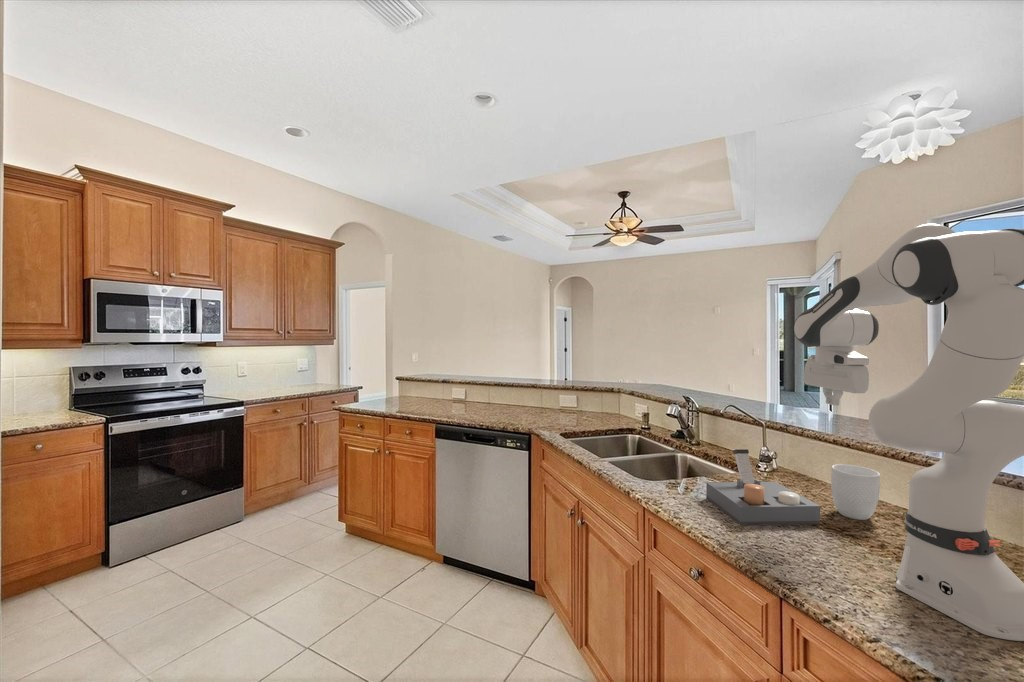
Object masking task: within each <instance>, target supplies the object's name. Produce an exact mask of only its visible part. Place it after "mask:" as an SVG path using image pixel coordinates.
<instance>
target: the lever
mask: <svg viewBox="0 0 1024 682" xmlns="http://www.w3.org/2000/svg"><path fill="white" fill-rule="evenodd" d="M749 454H750V451H749V449H746V448H745V449H744V448H742V449H734V450H733V455H734V457H735V461H736V465H737V471H738V475H739V479H741V480H742V481H744V482H743V486H744V485H745V484H753V483H755V481H754V479H755V477H754V473H753V468H752V463H751V459H750V456H749Z"/></svg>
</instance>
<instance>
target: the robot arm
mask: <svg viewBox="0 0 1024 682" xmlns="http://www.w3.org/2000/svg"><path fill="white" fill-rule="evenodd" d="M1023 285H1024V229H1023V228H1003V229H999V230H986V231H985V230H981V231H963V232H956V231H954V230H953V229H951V228H949V226H948V227H947V226H945V225H942V224H937V223H925V224H921V225H918V226H914V227H913V228H911V229H909V230H908V231H907V232H906V233H904V234H903V235H901V236H900V237H899V238H897V240H895V241H894V242H893V243H892V244H891V245H890V246H889V247H888V248H886V250H885V251H884V252H883V253H882V254H881V256H880V257H879V258H878V259H876V260H875V261H874V262H873V263H872V264H870V265H868V266H867V267H866V268H864V269H863V270H861V271H859V272H858V273H856V274H854V275H852V276H849V277H848V278H846V279H844V280H842V281H840V282H839V283H838V284H837V285H835V287H833V288H832V289H831V290H829V292H827V293H826V294H825V295H824V296H823V297H822V298H821V299H819V301H817V302H816V303H815V304H814V305H813V306H812V307H810V308H808V309H806V310H803V312H802V313H800V314H799V315H798V316H797V317H796V319H795V322H794V324H793V325H794V326H793V334H794V338H796V340H797V341H798V342H800V343H801V344H802V345H803V346H805V347H807V348H813V347H815V350H814V351H815V354H811V355H810V356H809V357H807V360H806V362H805V365H804V370H803V379H802V380H803V383H804V384H805V385H807V386H812V387H818V388H822V393H823V395H824V398H825V404H827V405H831V406H836V407H837V406H840V399H841V398H842V397H843V395H844V392H845V393H852V394H866V392H868V390H869V384H870V382H869V381H870V379H869V377H870V375H869V369H868V367H867V366H868V365H869V363H870V358H869V357H867V356H865V355H863V354H861V353H859V352H857V351H855V350H854V347H864V346H869V345H871V343H873V342H874V341H875V340H876V339H877V337H878V336H879V329H880V328H879V321H878V319H877V318H876V316H875V315H874V314H872V313H871V312H869V311H865V310H862V309H861V308H868V307H878V306H888V305H889V306H890V305H892V306H893V305H899V304H904V303H907V302H909V301H912V300H914V299H916V298H918V299H921V300H922V301H923V303H924V304H926V305H930V306H935V305H939V304H942V303H944V305H946V308H947V318H946V320H945V324H944V325H943V328H942V331H941V333H940V336H939V339H938V342H937V345H936V348H935V350H934V352H933V354H932V357H931V359H930V361H929V364H928V365H927V367H926V368H925V370H924V371H923V373H922V374H921V375H920V376H919V377H918V378H917V379H916V380H914V381H913V382H912V383H910V385H907V386H906V387H905V388H903V389H901V390H900V391H898V392H896V393H895V394H891V395H889V396H886V397H883V398H880V399H879V400H877V401H876V402H875V403H874V405H873V406H872V407H871V408H870V411H869V414H868V426H869V428H870V431H871V433H872V434H873V436H874V437H876V439H877V440H878V441H879V442H880V443H881V444H885V445H889V446H892V447H896V448H901V449H905V450H909V451H920V452H930V453H931V452H932V453H933V452H934V453H943V456H942V457H941V458H940V459H939V460H938V461H937V462H936V463H935V464H933V465H930V466H927V467H925V468H922V469H919V470H917V471H916V472H914V474H913V475H912V476H911V478H910V479H909V489H908V490H909V491H908V492H909V493H908V495H909V497H908V510H907V511H906V512H905V518H904V524H905V525H904V529H905V530H906V539H905V542H904V543H905V544H904V548H903V552H902V557H901V562H900V564H899V567H898V569H897V572H896V573H895V576H896V582H895V588H896V589H897V590H899V591H901V592H903V593H904V594H907V595H908V596H911V597H912V598H914V599H915V600H918V601H919V602H922V603H924V604H926V605H927V606H929V607H931V608H933V609H935V610H937V611H939V612H940V613H942V614H944V615H946V616H948V617H950V618H951V619H954V621H955V620H956V621H958V622H959V623H961V624H963V625H965V626H966V627H969V628H970V629H973V630H975V631H976V632H978V633H980V634H982V635H985V636H988V637H993V638H997V639H1002V640H1008V641H1017V642H1024V582H1023V581H1022V580H1021V579H1020V578H1019V577H1018V576H1017V575H1016V574H1015V573H1014V572H1013V571H1012V570H1011V568H1009V567H1008V565H1007V564H1005V562H1004V561H1003V560H1001V558H999V556H997V554H996V553H995V551H996V550H995V547H1001V544H999V543H1001V542H1002V540H999V539H991V537H990V534H989V532H988V529H987V528H986V527H985V525H986V524H985V522H986V511H987V509H986V508H987V500H988V495H989V491H990V488H991V487H992V484H993V482H994V481H995V479H996V478H997V476H998V475H999V474H1000V473H1001V471H1002V470H1003V469H1005V468H1006V467H1007V466H1008V465H1009V464H1011V463H1012V462H1013V461H1016V460H1017V459H1019V458H1021V457H1024V406H1020V405H1016V404H1012V403H1011V404H1010V403H1007V402H1006V403H1005V402H1001V401H997V400H990V399H992V398H994V397H997V396H999V395H1001V394H1003V393H1005V391H1007V390H1008V389H1009V388H1010V386H1011V385H1012V383H1013V382H1014V379H1015V377H1016V375H1017V372H1018V370H1019V368H1020V366H1021V364H1022V361H1023V359H1024V288H1022V287H1020V286H1023Z"/></svg>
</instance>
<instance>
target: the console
mask: <svg viewBox="0 0 1024 682" xmlns="http://www.w3.org/2000/svg"><path fill="white" fill-rule="evenodd" d="M754 481H755V483H753V484H757V485H760V486H763V487H764V488H765V494H764V505H748V504H747V503H745V502H744V486H743V482H744V481H742V480H741V479H740V478H737V481H731V482H730V481H729V482H727V481H724V482H723V481H720V482H719V481H718V482H712V481H710V482H706V491H705V493H706V495H705V497H706V500H708V501H709V502H710V503H712V505H714V506H715V507H716V508H718V509H719V510H720V511H722V512H723V513H724V514H725V515H727V516H728V517H729V518H730V519H731V520H733V521H734V522H735V521H736V523H737V524H738V525H739V524H740V525H742V526H787V525H788V526H793V525H795V526H798V525H799V526H800V525H801V526H803V525H807V526H808V525H820V524H821V505H819V504H817V503H816V502H814V501H812V500H810V499H808V498H806V497H805V496H803V495H801V494H799V493H797V492H795V491H793V490H792V489H790V488H787V487H786V486H784V485H782V484H781V483H779V482H776V481H761V480H759V479H757V478H754ZM781 491H787V492H792V493H796V494H798V495H799V496H800V504H799V505H785V504H783V503H781V502H780V501H778V496H779V492H781Z"/></svg>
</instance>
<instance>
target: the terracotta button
mask: <svg viewBox="0 0 1024 682" xmlns="http://www.w3.org/2000/svg"><path fill="white" fill-rule="evenodd" d="M764 494H765V488H764V487H763V486H760V485H757V484H745V485H744V502H745V503H747V504H748V505H764Z"/></svg>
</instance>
